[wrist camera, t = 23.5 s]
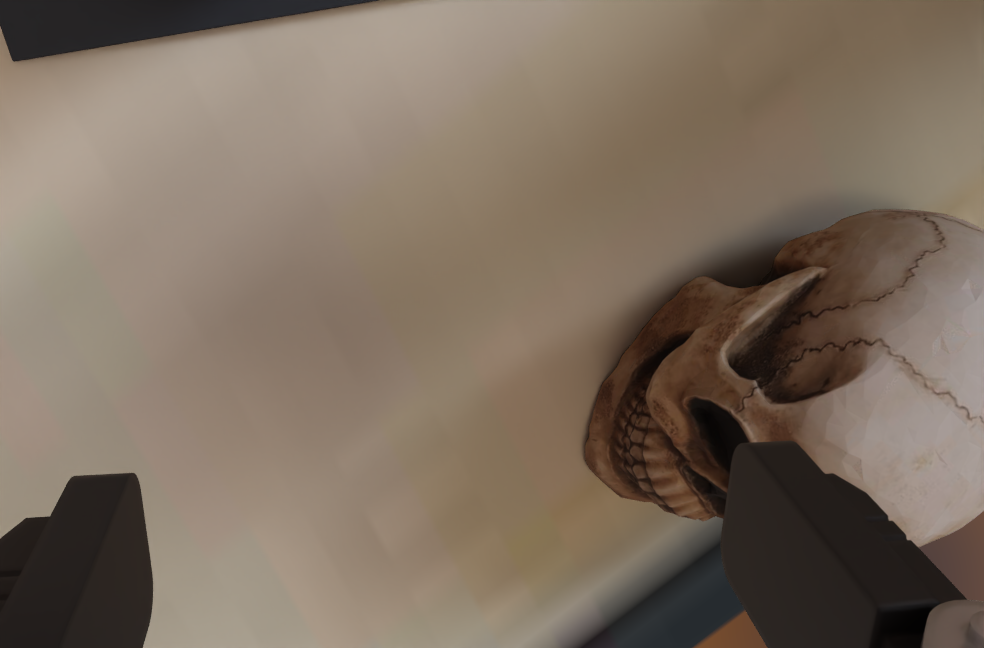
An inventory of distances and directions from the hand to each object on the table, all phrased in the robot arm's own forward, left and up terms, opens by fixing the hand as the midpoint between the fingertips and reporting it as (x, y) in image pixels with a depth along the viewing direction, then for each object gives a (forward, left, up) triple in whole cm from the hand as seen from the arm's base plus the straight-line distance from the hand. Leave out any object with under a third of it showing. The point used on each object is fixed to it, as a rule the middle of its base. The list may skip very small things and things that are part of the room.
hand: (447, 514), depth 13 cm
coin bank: (-16, +14, -28) cm, 35 cm away
